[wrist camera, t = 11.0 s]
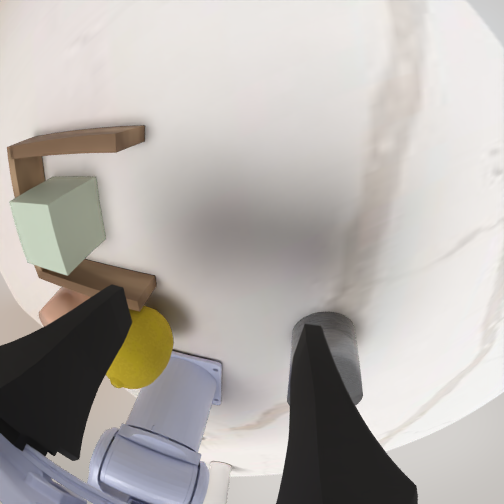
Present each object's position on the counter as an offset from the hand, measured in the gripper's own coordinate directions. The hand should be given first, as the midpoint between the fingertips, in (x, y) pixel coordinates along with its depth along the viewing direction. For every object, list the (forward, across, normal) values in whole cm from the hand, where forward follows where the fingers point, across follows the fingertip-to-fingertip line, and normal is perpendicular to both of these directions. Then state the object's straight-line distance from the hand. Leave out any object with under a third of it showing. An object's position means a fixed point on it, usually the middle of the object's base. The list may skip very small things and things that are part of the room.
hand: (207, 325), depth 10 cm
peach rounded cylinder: (+8, +16, +10) cm, 20 cm away
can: (+8, -7, +8) cm, 13 cm away
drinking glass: (+8, +1, +65) cm, 65 cm away
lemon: (+8, +7, +9) cm, 14 cm away
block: (+8, +13, 0) cm, 15 cm away
